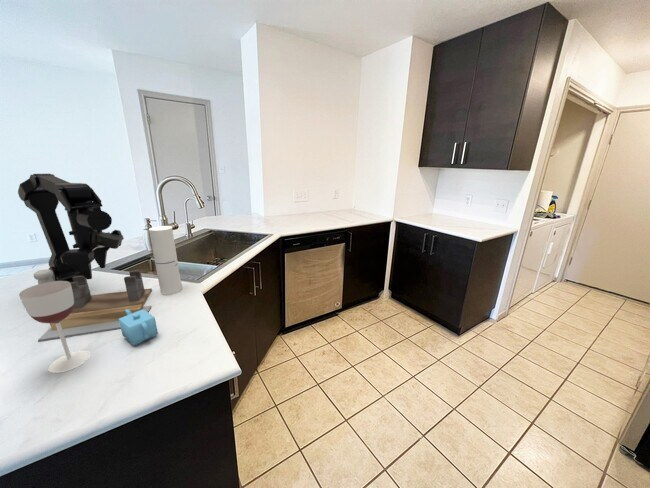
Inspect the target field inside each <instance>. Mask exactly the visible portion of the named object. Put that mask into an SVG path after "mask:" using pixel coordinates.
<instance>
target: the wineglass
mask: <svg viewBox="0 0 650 488" xmlns="http://www.w3.org/2000/svg"><path fill="white" fill-rule="evenodd" d="M18 296H19V299H20V300H21V303H22V305H23V307H24V309H25V311H26V312H27V314H28V316H29V317H31V318H32V319H33V320H35V322H39V323H42V324H50V323H55V324H56V327H57V330H58V333H59V336H60V338H59V339H60V342H61V344H62V347H63V350H64V353H65V355H63V356H61V357H59V358H57V359H56V360H54V361H53V362H52V363H51V364H50V365H49V367H48V371H49V372H50V373H52V374H53V373H54V374H57V373H65V372H68V371H71V370H72V369H76V368H78V367H80V366H82V365H83V364H84V363H86V362H87V361H88V360H89V359H90V357H91V352H90V351H89V350H76V351H72V352H70V349H69V345H68V342H67V339H66V337H65V336H64V333H63V330H62V327H61V324H60V321H62V320H63V319H65V318H66V317H67V316H69V315H70V313H71V312H72V310H73V307H74V297H73V291H72V287H71V283H70V282H68V281H52V282H47V283H42V284H38V283H37V284H35V285H33V286H30V287H27V288H25V289H23V290H21V291H20V292H19V293H18Z"/></svg>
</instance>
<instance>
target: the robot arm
mask: <svg viewBox="0 0 650 488" xmlns="http://www.w3.org/2000/svg"><path fill="white" fill-rule="evenodd" d="M17 194H18V197H19V199H20V200H21V201H23V202H24V205H25V207H26V208H28V209H30V211H33V212H34V213H35V215H36V217H37V219H38V222H39V225H40V227H41V230H42V232H43V235H44V237H45V240H46V242H47V245H48V247H49V249H50V250H49V251H50V253H51V255H50V257H49V260H48V266H49V268H48V270H52V272H53V276H52V279H53V281H68V282H73V277H74V276H84V277H85V278H86V279H87V280H92V279H93V273H92V272H93V271H92V262H93V261H95V262H96V264H97V266H99V268H100V269H105V268H106V264H107V256H108V255H107V254H108V251H109V250H110V249H114V250H115V249H116V250H117V249H118V248H119V247H121V246H122V243H123V240H124V239H125V238H124V235H123V234H122V231H121V230H119V229H114V230H112V231H111V233H110V232H109V231H107V232H104V231H105V230H107V229H108V228H110V227H111V225H112V224H113V223H112V222H113V218H112V216H111V215H110V214H109V213H108V212H107V211H105V210H102V207H103V203H102V200H101V199H100V197H99V195H98V194H97V193H96V191H94V189H93V188H92V187H91V186H90V185H89V184H88V183H84V182H83V183H82V182H81V183H80V182H69V181H67V180H65V179H63V178H59V177H57V176H55V174H53V173H33V174H30V175H29V177H28V179H26V180H25V181H23V182H21V183H19V186H18V191H17ZM59 203H60V204H61V205H62V206H63V207H64V211H66V214H67V217H68V220H69V221H68V222H69V225H70V229H71V231H70V230H69V231H68V234H69V236H73V239H74V242H75V243H73V244H72V248H73V249H72V248H71V249H70V247H69V244H68V242H67V241H68V240H67V238H66V236H65V233H64V231H63V228H62V225H61V223H60V220H59V217H58V214H57V212H56V209H57V208H58V205H59Z"/></svg>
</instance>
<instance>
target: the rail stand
mask: <svg viewBox="0 0 650 488" xmlns="http://www.w3.org/2000/svg"><path fill="white" fill-rule="evenodd" d="M141 272H142V271H141V270H140V269H139V270H138V269H136V270H130V271H129V276H125V277H123V281H124V285H125V289H126V291H117V292H109V293H101V294H91V291H90V287H89V283H88V279H86V278H85V277H84V276H74V277H73V282H70V283H71V287H72V291H73V297H74V307H73V310H72V312H71V313H70V314H72V313H80V312H87V311H95V310H103V309H110V308H118V307H125V306H133V305H140V304H143V306H144V305H145V303H146V301H147V300H148V298H149V296H150V295H151V293H152V291H153V289H152V287H151V288H145V286H144V281H143V277H142V273H141Z"/></svg>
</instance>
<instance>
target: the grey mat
mask: <svg viewBox="0 0 650 488" xmlns="http://www.w3.org/2000/svg"><path fill="white" fill-rule="evenodd" d="M143 308H144V310H145V311H147V312H148V313H149V312H150V310H151V309H152V305H145V306H143ZM149 314H150V313H149ZM62 330H63V333H64V336H65V338H70V337H78V336H83V335H84V336H85V335H90V334H97V333H104V332H109V331H115V330H121V327H120V323H119V321H112V322H106V323H99V324H92V325H85V326H79V327H72V328H65V329H62ZM58 339H60V336H59V333H58V330H52V329H51V327H50V328H49V329H48V330H47V331H46V332H45V333H43V334H42V335H41V336H40V337H39V338H38V339H37V342H38V343H39V342H45V341H46V342H47V341H51V340H58Z"/></svg>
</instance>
